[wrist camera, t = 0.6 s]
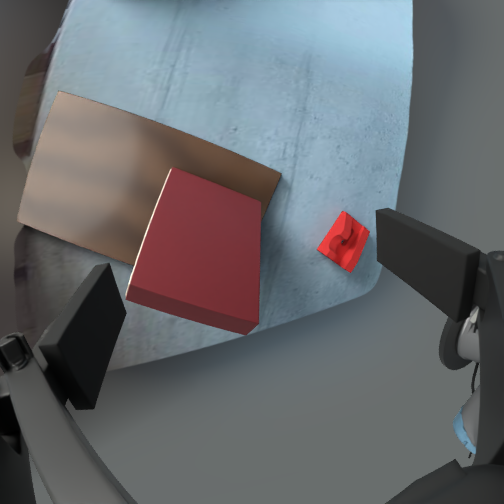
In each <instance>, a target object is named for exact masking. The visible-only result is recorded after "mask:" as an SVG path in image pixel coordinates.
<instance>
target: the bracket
mask: <svg viewBox="0 0 504 504" xmlns="http://www.w3.org/2000/svg"><path fill="white" fill-rule="evenodd" d="M369 233H370V231H368V230H367V229H366V228H365V227H363V226H362V225H361V224H360V223H358V222H357V221H356V220H355V219H354V218H352V217H351V216H350V215H349V214H348V213H346V212H344V211H342V212H341V214H340V215H339V217H338V218H337V220H336V221H335V223H334V225H333V226H332V228H331V229H330V231H329V232H328V234H327V235H326V237H325V238H324V240H323V241H322V243H321V244H320V246H319V247H318V249H317V250H318V251H320V252H321V253H322V254H324V255H325V256H327V257H328V258H329V259H331V260H332V261H334V262H335V263H336V264H338V265H339V266H341V267H342V268H344V269H345V270H347V271H348V272H350V273H351V272H352V270H353V269H354V267H355V266H356V264H357V262H358V260H359V258H360V255H361V253H362V250H363V248H364V245H365V243H366V240H367V238H368V235H369ZM342 240H344V241H343V243H341V241H342Z"/></svg>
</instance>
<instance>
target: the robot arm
mask: <svg viewBox="0 0 504 504" xmlns="http://www.w3.org/2000/svg"><path fill="white" fill-rule="evenodd" d="M376 231H377V261H378V262H379V263H381V264H382V265H383V266H385V267H386V268H387V269H389V270H390V271H391V272H393V273H394V274H395V275H397V276H398V277H399V278H400V279H402V280H403V281H404V282H406V283H407V284H408V285H410V286H411V287H412V288H413V289H415V290H416V291H417V292H419V293H420V294H421V295H423V296H424V297H425V298H426V299H428V300H429V301H430V302H431V303H432V304H434V305H435V306H436V307H437V308H439V309H440V310H441V311H442V312H444V313H445V314H446V315H447V316H448V317H450V318H451V319H452V320H453V321H454V322H456V323H458V322H460V321H462V323H461V326H460V328H459V330H458V333H457V337H456V342H455V350H456V353H457V354H458V355H459V356H460V357H462V358H463V359H466V360H472V361H475V362H476V366H475V370H474V374H473V378H472V384H471V387H472V395H471V397H470V398H469V399H468V400H467V402H466V403H465V404H464V405H463V406H462V407H461V410H460V411H459V413H458V414H457V415H456V417H455V418H454V421H453V428H454V431H455V433H456V435H457V437H458V438H459V440H460V441H461V442H462V443H463V444H464V445H465V446H466V448H467V449H468V450H469V451H471V452H470V455H469V457H468V458H470V457H471V454H472V453H474V454H475V459H474V462H473V464H472V466H468V467H463V468H461V467H460V465H459V463H458V462H457V461H456V459H454V460H453V461H451V462H449V463H447V464H446V465H444V466H442V467H441V468H439V469H437V470H435V471H433V472H431V473H429V474H428V475H426V476H424V477H422V478H420V479H418V480H416V481H415V482H413V483H412V484H411V485H409V486H408V487H407V488H405V490H403V491H402V492H400V493H399V494H398V495H396V496H395V497H394V498H392V499H391V500H389V501H388V502H387V503H385V504H504V251H493V252H490V253H488V254H487V255H486V254H484V253H482V252H481V251H480V250H479V249H477V248H475V247H473V246H471V245H469V244H467V243H465V242H463V241H461V240H459V239H457V238H454V237H452V236H450V235H448V234H446V233H444V232H442V231H440V230H437V229H435V228H433V227H431V226H428V225H426V224H424V223H422V222H420V221H417V220H415V219H413V218H411V217H408V216H406V215H404V214H401V213H399V212H397V211H394V210H392V209H389V208H385V209H379V210H376ZM473 303H474V305H473V306H472V304H473ZM126 314H127V313H126V310H125V307H124V304H123V302H122V299H121V296H120V293H119V290H118V287H117V284H116V281H115V278H114V275H113V272H112V269H111V266H110V263H105V264H101V265H96V266H95V267H94V268H93V269H92V271H91V272H90V273H89V275H88V276H87V277H86V279H85V280H84V281H83V283H82V284H81V285H80V287H79V288H78V289H77V291H76V292H75V293H74V295H73V296H72V297H71V299H70V300H69V302H68V303H67V304H66V306H65V307H64V309H63V310H62V311H61V313H60V314H59V316H58V317H57V318H56V319H55V320H54V321H53V322H51V323H50V324H49V325H48V327H47V328H46V330H45V331H44V333H43V334H42V336H41V337H40V339H39V340H38V341H37V343H36V344H35V346H34V348H33V349H32V350H31V349H30V347H29V345H28V343H27V341H26V339H25V337H24V335H23V334H22V333H20V332H15V333H11V334H9V335H6V336H4V337H3V338H1V339H0V367H1V368H2V370H3V372H4V375H3V376H0V504H36V500H35V495H34V489H33V483H32V477H31V470H30V462H29V453H28V450H29V452H30V455H31V457H32V459H33V462H34V464H35V466H36V469H37V471H38V473H39V475H40V477H41V479H42V482H43V483H44V486H45V488H46V490H47V492H48V494H49V496H50V498H51V500H52V501H53V503H54V504H137V502H136V501H135V500H134V499H133V498H132V497H131V496H130V494H129V493H128V492H127V491H126V490H125V489H124V488H123V486H122V485H121V484H120V483H119V481H118V480H117V479H116V478H115V477H114V475H113V474H112V473H111V471H110V470H109V469H108V468H107V466H106V465H105V464H104V462H103V461H102V460H101V458H100V457H99V456H98V454H97V453H96V452H95V450H94V449H93V447H92V446H91V445H90V443H89V442H88V441H87V439H86V437H85V436H84V435H83V433H82V431H81V430H80V428H79V427H78V425H77V424H76V422H75V421H74V419H73V418H72V416H71V414H70V413H69V411H68V410H67V408H66V407H65V404H66V401H67V399H68V398H69V400H70V402H71V403H72V405H73V406H74V408H75V409H76V410H88V409H94V408H95V405H96V401H97V398H98V395H99V392H100V388H101V385H102V382H103V379H104V376H105V373H106V370H107V367H108V364H109V361H110V358H111V355H112V352H113V349H114V346H115V344H116V341H117V338H118V335H119V333H120V330H121V327H122V324H123V322H124V319H125V316H126ZM479 363H480V385H479V386H478V388H477V389H476V390H474V381H475V376H476V373H477V369H478V365H479Z"/></svg>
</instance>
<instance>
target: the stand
mask: <svg viewBox="0 0 504 504" xmlns="http://www.w3.org/2000/svg"><path fill="white" fill-rule="evenodd" d="M172 167H174V168H177V169H180V170H182V171H185V172H187V173H190V174H193V175H195V176H198V177H200V178H203V179H206V180H208V181H211V182H213V183H216V184H218V185H221V186H223V187H226V188H228V189H231V190H233V191H236V192H238V193H241V194H243V195H246V196H248V197H250V198H253V199H255V200H258V201H260V202H261V221H262V219H263V217H264V214H265V212H266V209H267V207H268V205H269V202H270V200H271V198H272V195H273V193H274V191H275V188H276V186H277V184H278V181H279V179H280V176H281V173H280V172H277V171H275V170H273V169H271V168H269V167H266V166H264V165H262V164H260V163H257V162H255V161H253V160H251V159H248V158H246V157H244V156H241V155H239V154H237V153H234V152H232V151H230V150H227V149H225V148H222V147H220V146H217V145H215V144H213V143H210V142H208V141H205V140H203V139H200V138H198V137H195V136H192V135H190V134H187V133H185V132H182V131H180V130H177V129H174V128H172V127H169V126H166V125H163V124H161V123H158V122H155V121H152V120H150V119H147V118H144V117H141V116H138V115H135V114H132V113H130V112H127V111H124V110H121V109H118V108H115V107H111V106H108V105H105V104H102V103H99V102H96V101H92V100H89V99H86V98H83V97H79V96H76V95H72V94H69V93H65V92H62V91H58V93H57V95H56V98H55V100H54V102H53V105H52V107H51V109H50V112H49V114H48V117H47V120H46V122H45V125H44V127H43V130H42V133H41V136H40V138H39V141H38V144H37V147H36V150H35V153H34V156H33V160H32V163H31V166H30V169H29V173H28V176H27V180H26V184H25V187H24V191H23V195H22V199H21V204H20V208H19V213H18V217H17V222H20V223H22V224H24V225H27V226H29V227H32V228H34V229H37V230H39V231H42V232H44V233H47V234H49V235H52V236H55V237H57V238H60V239H62V240H65V241H68V242H70V243H73V244H75V245H78V246H81V247H83V248H86V249H89V250H92V251H94V252H97V253H100V254H102V255H105V256H108V257H111V258H114V259H116V260H119V261H122V262H125V263H128V264H130V265H133V266H134V265H135V262H136V259H137V256H138V253H139V250H140V247H141V245H142V242H143V239H144V236H145V233H146V231H147V228H148V225H149V222H150V220H151V217H152V214H153V212H154V209H155V206H156V204H157V201H158V199H159V196H160V194H161V191H162V189H163V186H164V184H165V181H166V179H167V176H168V174H169V172H170V170H171V169H172Z"/></svg>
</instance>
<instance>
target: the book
mask: <svg viewBox="0 0 504 504" xmlns="http://www.w3.org/2000/svg"><path fill="white" fill-rule="evenodd" d="M260 241H261V202H260V201H258V200H255V199H253V198H250V197H248V196H246V195H243V194H241V193H238V192H236V191H233V190H231V189H228V188H226V187H223V186H221V185H218V184H216V183H213V182H211V181H208V180H206V179H203V178H200V177H198V176H195V175H193V174H190V173H187V172H185V171H182V170H180V169H177V168H174V167H172V169H171V170H170V172H169V174H168V176H167V179H166V181H165V184H164V186H163V189H162V191H161V194H160V196H159V199H158V201H157V204H156V206H155V209H154V212H153V214H152V217H151V220H150V222H149V225H148V228H147V231H146V233H145V236H144V239H143V242H142V245H141V247H140V250H139V253H138V256H137V259H136V262H135V265H134V268H133V271H132V274H131V277H130V281H129V284H128V287H127V291H126V300H128V301H131V302H134V303H137V304H140V305H143V306H146V307H149V308H152V309H156V310H159V311H162V312H165V313H168V314H172V315H175V316H178V317H182V318H185V319H188V320H192V321H195V322H199V323H202V324H206V325H209V326H213V327H216V328H220V329H224V330H227V331H231V332H235V333H239V334H243V335H247V334H248V333H249V332H250V331H251V330H253V329H254V328H255V327H256V326H257V325H258V324H259V294H260Z"/></svg>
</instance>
